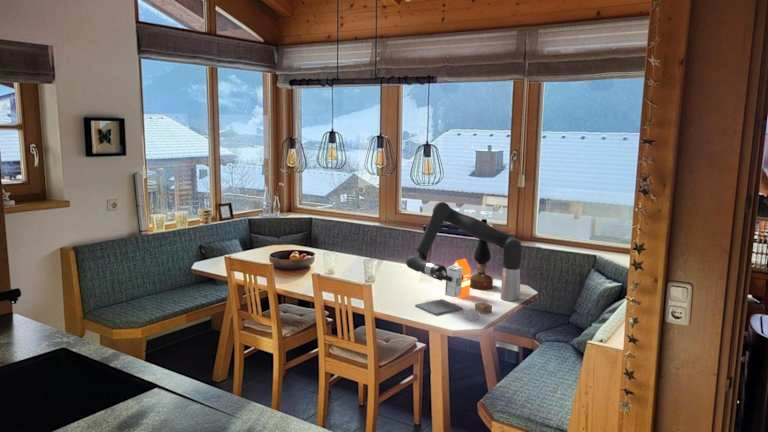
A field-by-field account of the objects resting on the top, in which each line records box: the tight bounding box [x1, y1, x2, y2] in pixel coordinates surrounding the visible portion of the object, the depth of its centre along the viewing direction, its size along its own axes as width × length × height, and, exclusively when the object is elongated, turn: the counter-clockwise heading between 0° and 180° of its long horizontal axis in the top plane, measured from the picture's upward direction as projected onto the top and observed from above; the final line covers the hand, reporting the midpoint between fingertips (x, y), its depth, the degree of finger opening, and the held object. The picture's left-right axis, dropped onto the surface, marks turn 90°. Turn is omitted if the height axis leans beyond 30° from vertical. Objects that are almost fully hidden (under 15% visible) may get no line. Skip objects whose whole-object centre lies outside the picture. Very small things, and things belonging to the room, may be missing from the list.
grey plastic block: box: [463, 308, 480, 322], centre depth 286 cm, size 5×5×4 cm
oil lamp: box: [470, 218, 494, 291], centre depth 341 cm, size 14×15×40 cm
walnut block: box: [474, 301, 493, 315], centre depth 297 cm, size 6×6×4 cm
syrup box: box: [444, 264, 463, 298], centre depth 293 cm, size 6×6×14 cm
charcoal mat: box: [414, 298, 463, 316], centre depth 302 cm, size 18×16×1 cm
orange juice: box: [453, 258, 472, 299], centre depth 323 cm, size 8×9×20 cm
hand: (457, 278), depth 291 cm, fingers closed on syrup box, 7 cm apart
